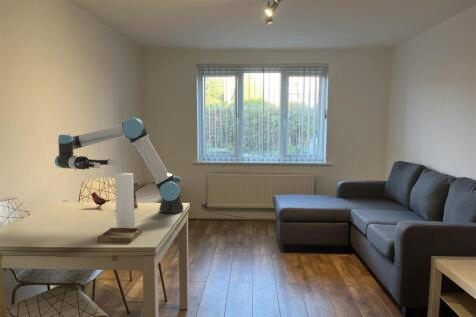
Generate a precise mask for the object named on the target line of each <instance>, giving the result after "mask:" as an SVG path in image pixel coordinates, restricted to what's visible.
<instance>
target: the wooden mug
mask: <svg viewBox="0 0 476 317" xmlns="http://www.w3.org/2000/svg"><path fill="white" fill-rule="evenodd" d="M133 185H134V209H137V208H139V205H138V201H137V192H136V191H137V190H139V187H140V184H139V183H138V182H133Z"/></svg>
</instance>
